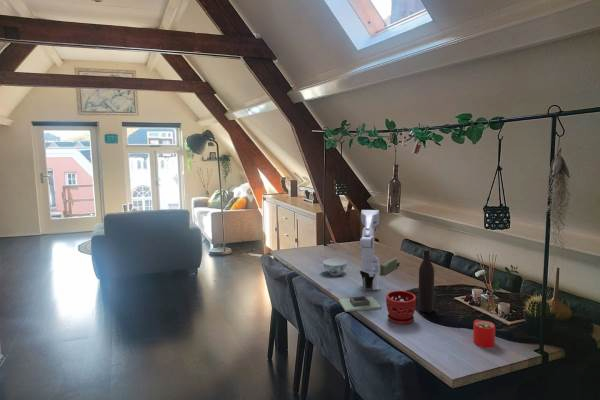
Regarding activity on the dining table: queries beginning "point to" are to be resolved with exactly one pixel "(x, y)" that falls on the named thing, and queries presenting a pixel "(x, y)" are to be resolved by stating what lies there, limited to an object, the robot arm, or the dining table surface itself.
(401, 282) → the dining table surface
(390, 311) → the plant pot
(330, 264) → the chinaware
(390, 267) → the handheld radio
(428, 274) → the wine bottle
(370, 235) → the robot arm
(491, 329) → the red cylinder
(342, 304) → the end holder
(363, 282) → the connector plug
